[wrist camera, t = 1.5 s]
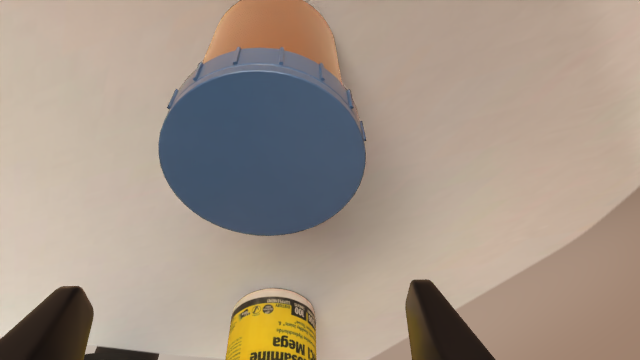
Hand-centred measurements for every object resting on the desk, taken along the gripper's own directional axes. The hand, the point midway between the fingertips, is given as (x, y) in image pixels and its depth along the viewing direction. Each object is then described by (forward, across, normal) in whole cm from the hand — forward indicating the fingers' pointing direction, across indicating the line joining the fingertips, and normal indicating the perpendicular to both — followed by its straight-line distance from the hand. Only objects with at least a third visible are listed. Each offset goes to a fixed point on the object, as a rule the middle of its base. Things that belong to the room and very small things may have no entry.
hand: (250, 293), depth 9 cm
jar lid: (+5, 0, 0) cm, 5 cm away
